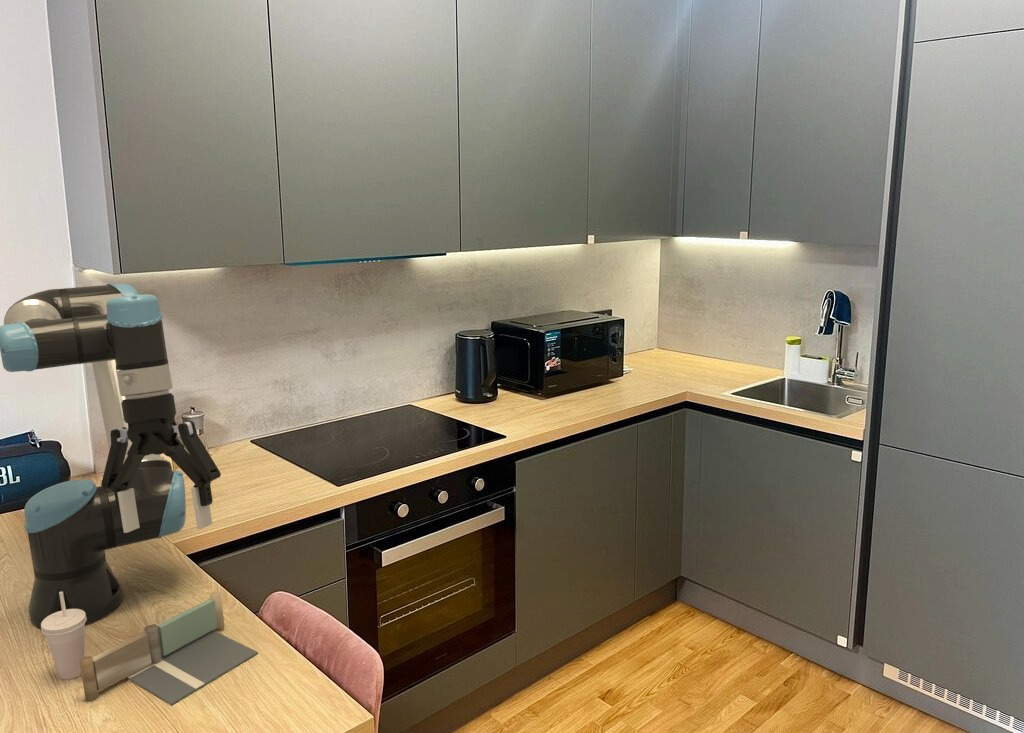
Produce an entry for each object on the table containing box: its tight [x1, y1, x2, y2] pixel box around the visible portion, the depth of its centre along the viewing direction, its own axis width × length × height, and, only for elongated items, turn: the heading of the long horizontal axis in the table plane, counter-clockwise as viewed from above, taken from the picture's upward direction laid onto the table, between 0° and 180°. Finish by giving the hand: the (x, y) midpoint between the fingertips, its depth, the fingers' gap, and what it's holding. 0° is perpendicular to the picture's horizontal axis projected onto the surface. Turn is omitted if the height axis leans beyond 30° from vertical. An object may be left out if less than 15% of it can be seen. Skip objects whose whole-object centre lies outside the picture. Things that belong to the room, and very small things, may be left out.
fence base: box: [79, 623, 162, 702], centre depth 129 cm, size 2×13×7 cm, turn 145°
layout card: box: [124, 629, 259, 706], centre depth 135 cm, size 20×16×1 cm
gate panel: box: [156, 591, 225, 656], centre depth 139 cm, size 12×2×6 cm, turn 145°
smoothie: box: [40, 592, 87, 681], centre depth 130 cm, size 6×6×14 cm
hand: (167, 528), depth 129 cm, fingers open, 13 cm apart
